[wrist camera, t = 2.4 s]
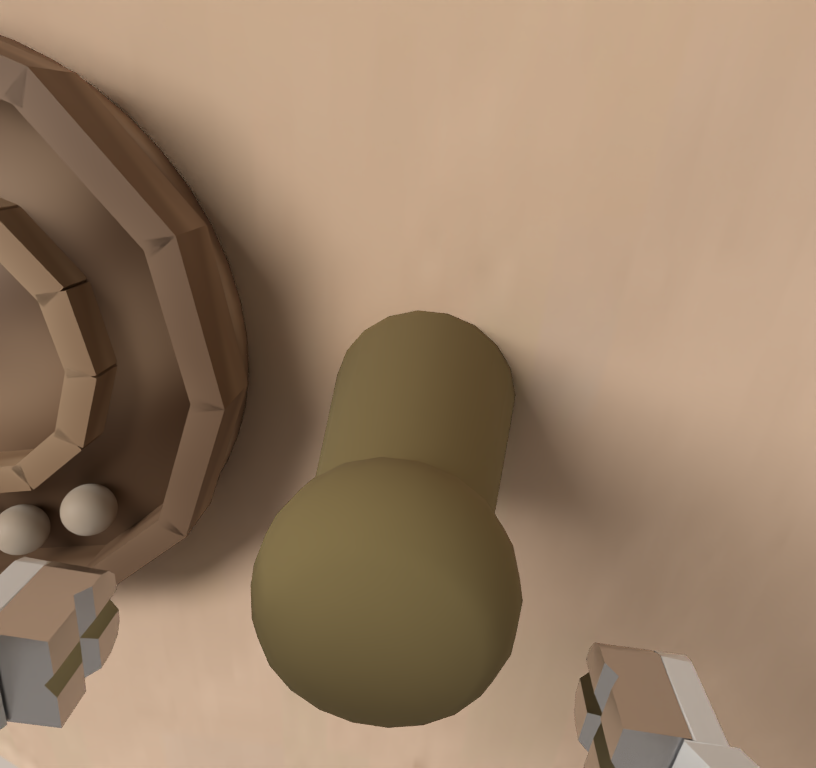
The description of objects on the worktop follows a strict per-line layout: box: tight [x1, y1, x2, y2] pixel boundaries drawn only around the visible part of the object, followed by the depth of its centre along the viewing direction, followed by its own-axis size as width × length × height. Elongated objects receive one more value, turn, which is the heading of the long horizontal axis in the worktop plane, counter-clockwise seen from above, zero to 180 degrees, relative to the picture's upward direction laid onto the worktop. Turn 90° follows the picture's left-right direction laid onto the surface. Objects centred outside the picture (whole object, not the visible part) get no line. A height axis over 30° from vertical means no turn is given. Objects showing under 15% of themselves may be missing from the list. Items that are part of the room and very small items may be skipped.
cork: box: [251, 311, 523, 728], centre depth 15 cm, size 6×6×11 cm
